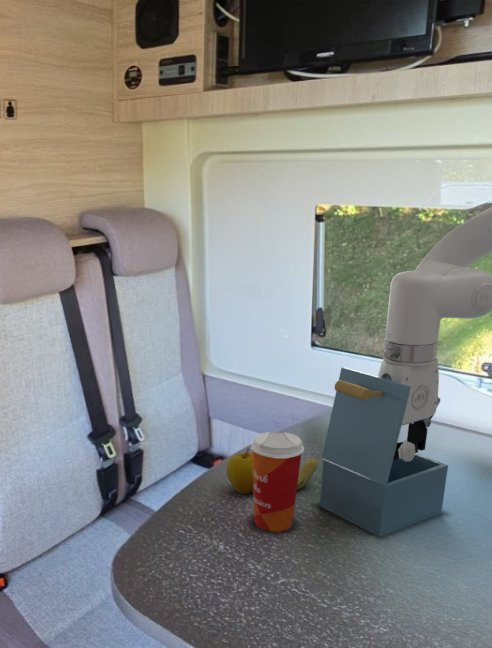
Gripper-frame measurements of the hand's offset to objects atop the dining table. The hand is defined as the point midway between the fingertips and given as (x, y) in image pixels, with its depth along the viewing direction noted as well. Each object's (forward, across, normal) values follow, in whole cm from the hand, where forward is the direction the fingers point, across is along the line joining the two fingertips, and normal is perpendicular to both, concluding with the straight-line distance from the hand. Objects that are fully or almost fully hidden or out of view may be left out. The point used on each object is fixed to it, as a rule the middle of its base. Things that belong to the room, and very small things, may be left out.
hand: (398, 452), depth 120 cm
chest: (+10, -3, 0) cm, 10 cm away
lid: (-7, -9, 0) cm, 11 cm away
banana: (+10, -7, +14) cm, 19 cm away
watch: (+1, 0, 0) cm, 1 cm away
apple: (+10, -17, +18) cm, 27 cm away
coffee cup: (+10, -21, +6) cm, 24 cm away
